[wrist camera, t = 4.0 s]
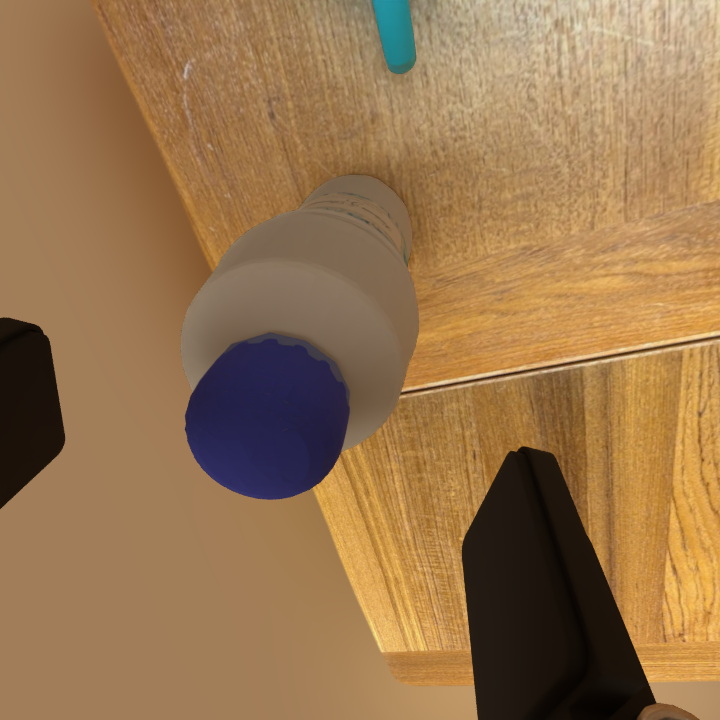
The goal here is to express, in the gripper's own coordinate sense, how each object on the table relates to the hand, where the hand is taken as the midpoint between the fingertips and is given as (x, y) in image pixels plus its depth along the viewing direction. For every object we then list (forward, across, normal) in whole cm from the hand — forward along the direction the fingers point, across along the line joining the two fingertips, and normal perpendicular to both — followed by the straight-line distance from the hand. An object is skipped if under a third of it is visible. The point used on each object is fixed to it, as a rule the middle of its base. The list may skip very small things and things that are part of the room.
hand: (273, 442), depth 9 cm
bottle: (+20, +1, 0) cm, 20 cm away
